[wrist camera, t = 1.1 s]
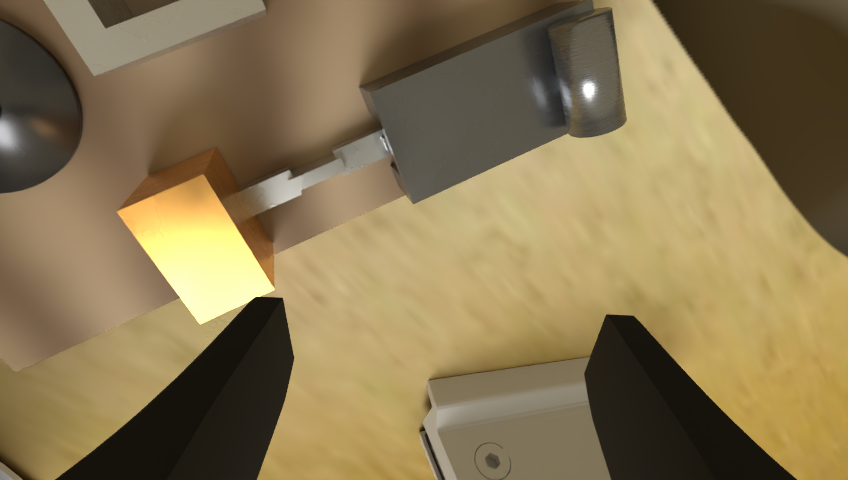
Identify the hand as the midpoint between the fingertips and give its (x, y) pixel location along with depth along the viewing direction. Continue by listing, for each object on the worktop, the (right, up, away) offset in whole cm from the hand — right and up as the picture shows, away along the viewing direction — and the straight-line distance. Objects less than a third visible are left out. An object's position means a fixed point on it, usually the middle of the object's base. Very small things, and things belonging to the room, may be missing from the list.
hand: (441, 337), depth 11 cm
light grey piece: (+7, -9, +23) cm, 25 cm away
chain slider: (-3, +7, +11) cm, 13 cm away
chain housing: (+2, +9, +11) cm, 15 cm away
